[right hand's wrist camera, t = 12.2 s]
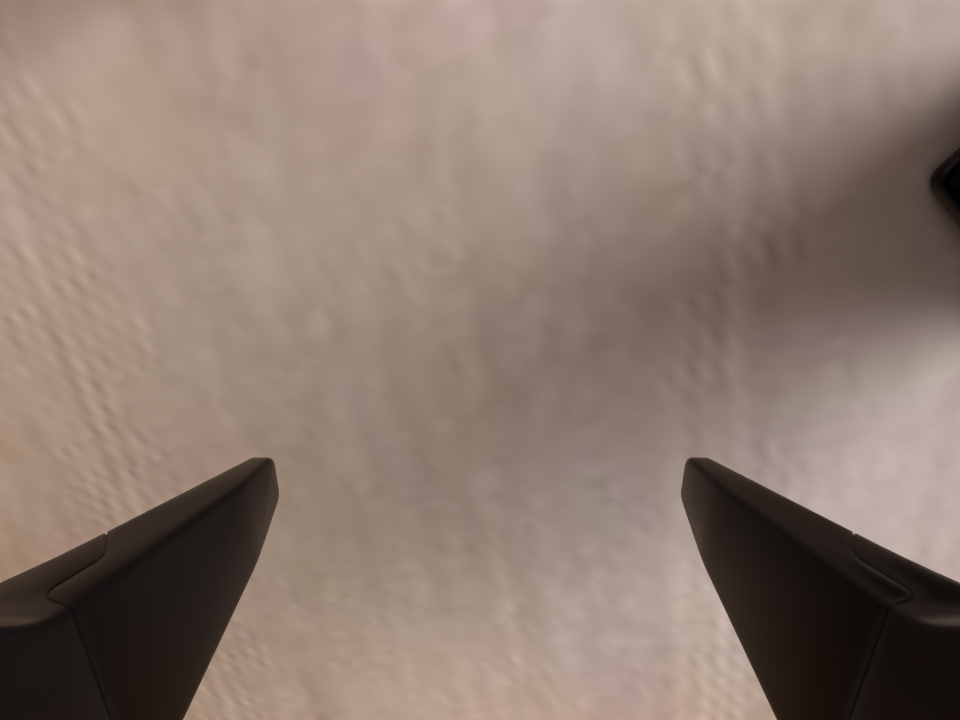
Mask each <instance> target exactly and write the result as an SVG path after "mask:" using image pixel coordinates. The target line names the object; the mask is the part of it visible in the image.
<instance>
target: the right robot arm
mask: <svg viewBox="0 0 960 720" xmlns="http://www.w3.org/2000/svg"><path fill="white" fill-rule="evenodd" d="M955 172H957V175H958V176H957V180H956V181H955V183H954V184H953V185H951V183H950V181H951V177H952V176H953V174H954V173H955ZM931 188H932V190H933V192H934V193H935V195H936V196H937V197H938V198H939V200H940V201H941V202H942V203H943V205H944V206H945V207H946V208H947V210H948V211H949V212H950V214H951V215H952V216H953V217H954V219H955V220H956V221H957V222H958V224H959V225H960V148H959V149H958V150H957V151H956V152H955V153H953V154H952V155H951V156H950V157H949V158H948V159H947V160H946V161H944V162H943V163H942V164H941V165H940V166H939V167H938V168H937V169H936V170H935V172H934V173H933V176H932V178H931ZM278 497H279V489H278V483H277V476H276V470H275V464H274V462H273V460H272V459H271V458H251V459H249V460H247V461H245V462H243V463H241V464H239V465H237V466H235V467H233V468H231V469H230V470H228V471H226V472H224V473H222V474H220V475H218V476H216V477H214V478H212V479H210V480H208V481H206V482H204V483H202V484H200V485H198V486H196V487H194V488H192V489H190V490H188V491H186V492H184V493H183V494H181V495H179V496H177V497H175V498H173V499H171V500H169V501H167V502H165V503H163V504H161V505H159V506H157V507H155V508H153V509H151V510H149V511H147V512H145V513H143V514H141V515H139V516H137V517H136V518H134V519H132V520H130V521H128V522H126V523H124V524H122V525H120V526H118V527H116V528H114V529H112V530H110V531H108V532H107V535H106V534H102V535H100V536H98V537H96V538H94V539H92V540H90V541H88V542H86V543H84V544H82V545H80V546H78V547H76V548H74V549H72V550H70V551H68V552H66V553H64V554H62V555H60V556H58V557H56V558H54V559H52V560H49V561H47V562H45V563H43V564H41V565H39V566H36V567H34V568H32V569H30V570H28V571H26V572H23V573H21V574H19V575H17V576H14V577H12V578H10V579H8V580H6V581H3V582H1V583H0V720H183V718H184V716H185V714H186V712H187V710H188V708H189V706H190V704H191V701H192V699H193V697H194V695H195V693H196V691H197V689H198V687H199V685H200V682H201V680H202V678H203V676H204V674H205V672H206V670H207V668H208V665H209V663H210V661H211V659H212V657H213V655H214V653H215V651H216V648H217V646H218V644H219V642H220V640H221V638H222V636H223V634H224V631H225V629H226V627H227V625H228V623H229V621H230V619H231V617H232V614H233V612H234V610H235V608H236V606H237V604H238V602H239V600H240V598H241V595H242V593H243V591H244V589H245V587H246V585H247V583H248V581H249V578H250V576H251V574H252V572H253V570H254V568H255V565H256V563H257V561H258V558H259V555H260V553H261V550H262V547H263V544H264V541H265V538H266V535H267V532H268V529H269V526H270V523H271V520H272V517H273V514H274V511H275V508H276V505H277V502H278ZM681 497H682V502H683V505H684V508H685V511H686V514H687V517H688V520H689V523H690V526H691V529H692V532H693V535H694V538H695V541H696V544H697V547H698V550H699V553H700V555H701V558H702V561H703V563H704V565H705V568H706V570H707V572H708V574H709V576H710V578H711V581H712V583H713V585H714V587H715V589H716V591H717V593H718V595H719V598H720V600H721V602H722V604H723V606H724V608H725V610H726V612H727V615H728V617H729V619H730V621H731V623H732V625H733V627H734V629H735V632H736V634H737V636H738V638H739V640H740V642H741V644H742V646H743V648H744V651H745V653H746V655H747V657H748V659H749V661H750V663H751V665H752V668H753V670H754V672H755V674H756V676H757V678H758V680H759V682H760V685H761V687H762V689H763V691H764V693H765V695H766V697H767V699H768V702H769V704H770V706H771V708H772V710H773V712H774V714H775V716H776V719H777V720H960V583H959V582H957V581H954V580H952V579H950V578H948V577H946V576H943V575H941V574H939V573H937V572H934V571H932V570H930V569H928V568H926V567H924V566H921V565H919V564H917V563H915V562H913V561H911V560H908V559H906V558H904V557H902V556H900V555H898V554H896V553H894V552H892V551H890V550H888V549H886V548H884V547H882V546H880V545H878V544H876V543H874V542H872V541H870V540H868V539H866V538H864V537H862V536H860V535H858V534H854V535H853V532H852V531H850V530H848V529H846V528H844V527H842V526H840V525H838V524H836V523H834V522H832V521H830V520H828V519H826V518H824V517H823V516H821V515H819V514H817V513H815V512H813V511H811V510H809V509H807V508H805V507H803V506H801V505H799V504H797V503H795V502H793V501H791V500H789V499H787V498H785V497H783V496H781V495H779V494H777V493H776V492H774V491H772V490H770V489H768V488H766V487H764V486H762V485H760V484H758V483H756V482H754V481H752V480H750V479H748V478H746V477H744V476H742V475H740V474H738V473H736V472H734V471H732V470H730V469H729V468H727V467H725V466H723V465H721V464H719V463H717V462H715V461H713V460H711V459H709V458H689V459H688V460H687V462H686V464H685V470H684V476H683V483H682V489H681Z"/></svg>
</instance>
